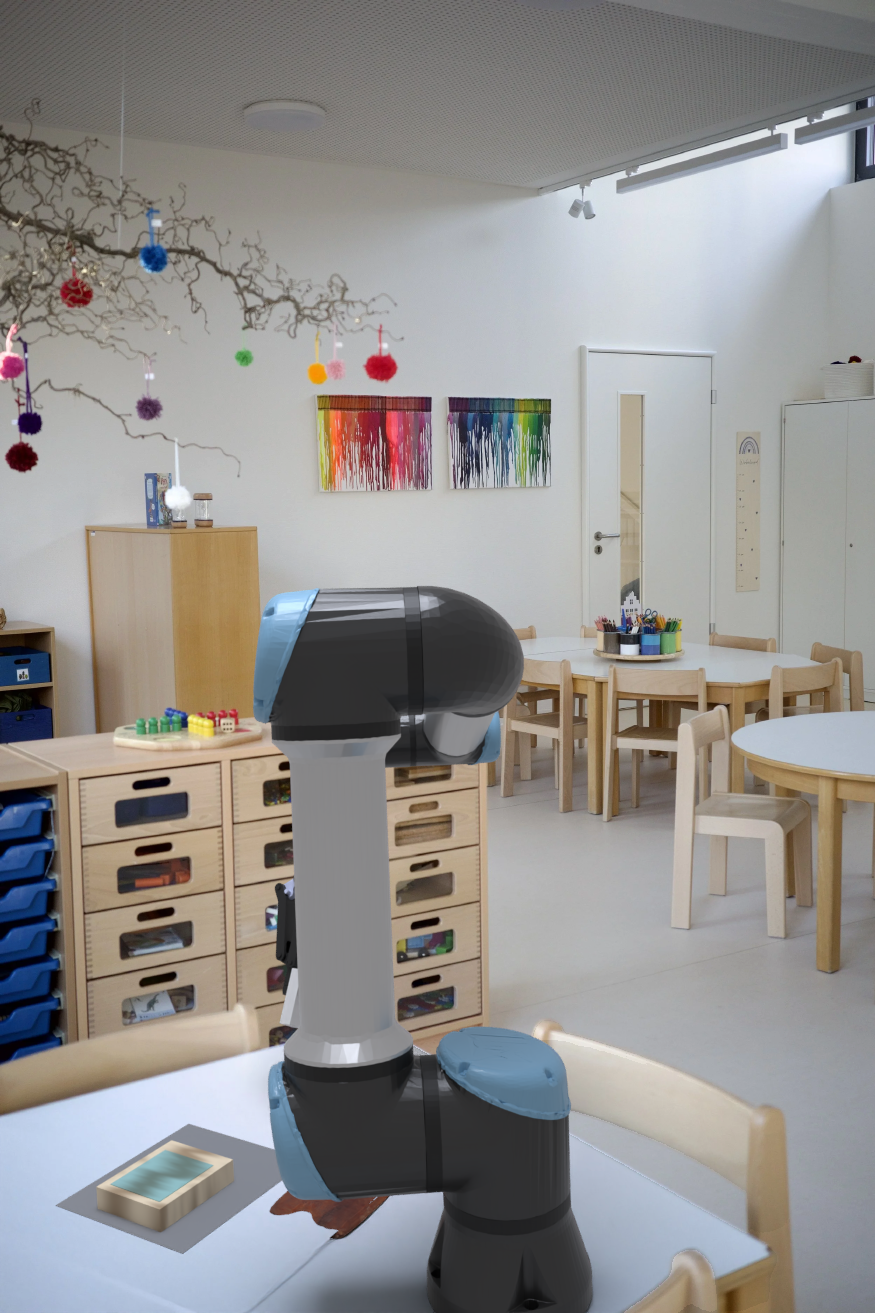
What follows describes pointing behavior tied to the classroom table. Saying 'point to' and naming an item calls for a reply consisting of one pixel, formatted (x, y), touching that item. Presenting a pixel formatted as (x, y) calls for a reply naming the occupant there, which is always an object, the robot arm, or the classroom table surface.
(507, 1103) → the robot arm
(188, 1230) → the grey mat
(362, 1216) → the wooden tablet
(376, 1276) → the classroom table surface
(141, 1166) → the beech board
